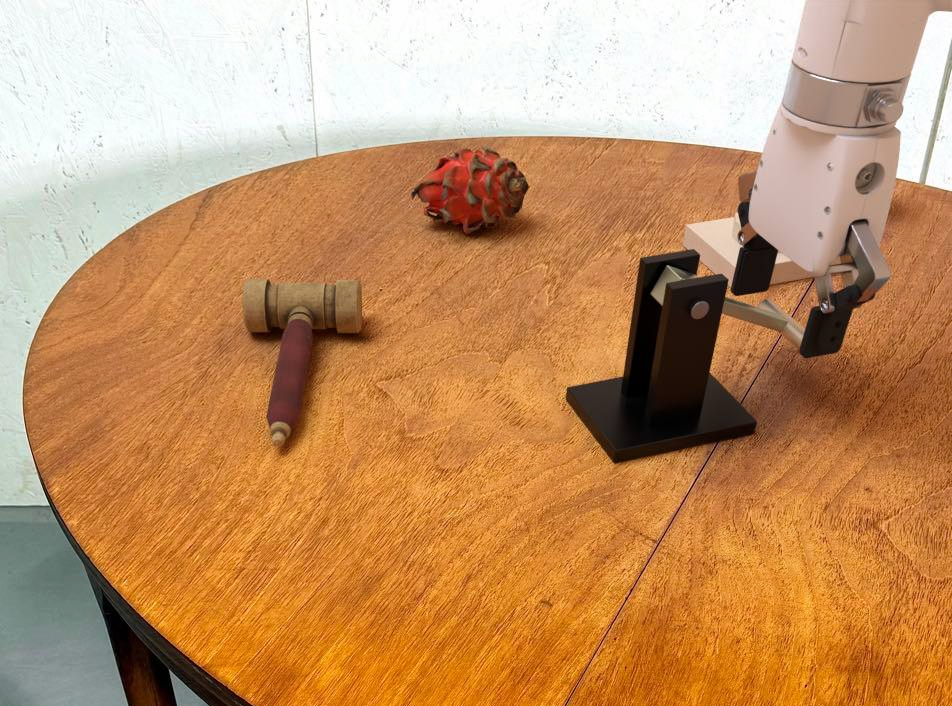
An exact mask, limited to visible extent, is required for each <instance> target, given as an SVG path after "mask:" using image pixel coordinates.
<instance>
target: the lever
mask: <svg viewBox="0 0 952 706" xmlns="http://www.w3.org/2000/svg"><path fill="white" fill-rule="evenodd" d="M698 277H699V276H696V275H695V274H692V273H689V272H686V271H683V270H680V269H677V268H674V267H671V266H668V265H667V266H666V268H665V269H664V271H663V273H662V274H661V276H660V278H659V280H658V281H657V283H656V285H655V287H654V288H653V290H652V292H651V295H652V296H653V297H654V298H655V299H656V300H657V301H658V302H659V303H660V304H661V305H662V306H663V300H664V294H665V288H666V283H669V282H675V281H681V280H686V279H692V278H698ZM722 315H725V316H728V317H731V318H734V319H737V320H741V321H744V322H746V323H749V324H753V325H756V326H758V327H759V326H760V327H762V328H766V329H768V330H772V331H775V332H777V333H779V335H781V336H782V337H783V338H784V339H785V340H786V341H788V342H789V343H790V344H791V345H792V346H793V347H795V348H796V349H797V350H798V351H799V349H800V346H801V342H802V339H803V335H804V331H805V328H806V327H804V326H803V325H802V324H800V323H799V322H798V321H797V320H795V318H793V317H792V316H791V314H788V312H786V311H785V310H784V309H783V308H782V307H781V306H779V304H777V303H776V302H775V301H774V300H772V299H771V298H765V299H763V300H762V301H760V302H759V303H758V305H757V306H755V305H752V304H748V303H746V302H743V301H740V300H737V299H734V298H730V297H727V296H725V300H724V305H723V310H722Z"/></svg>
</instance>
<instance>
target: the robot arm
mask: <svg viewBox="0 0 952 706" xmlns="http://www.w3.org/2000/svg"><path fill="white" fill-rule="evenodd" d="M936 12H948V13H952V0H805V1H804V5H803V10H802V14H801V18H800V23H799V27H798V31H797V36H796V39H795V44H794V49H793V52H792V57H791V61H790V64H789V69H788V73H787V78H786V82H785V86H784V91H783V95H782V99H781V101H780V104H779V106H778V109H777V111H776V113H775V115H774V117H773V121H772V123H771V126H770V129H769V132H768V135H767V138H766V140H765V144H764V147H763V150H762V152H761V156H760V160H759V163H758V167H757V170H756V171H750V172H746V173H741V174H739V176H738V199H739V201H740V203H739V204H738V206H737V210H736V213H737V212H738V216H739V220H740V224H741V230H740V231H739V232H738V236H737V237H738V242H739V244H740V245H742V246H743V245H744V246H743V247H740V250H739V254H738V259H737V263H736V268H735V272H734V276H733V281H732V285H731V288H730V289H729V290H730V293H731V294H732V295H733V296H734V297H741V296H747V295H752V294H753V295H754V294H760V293H765V292H767V291H768V290H769V289H770V286H771V285H770V282H771V278H772V274H773V270H774V266H775V262H776V258H777V254H778V250H779V251H780V252H781V253H783V254H784V255H785V256H786V257H788V258H789V259H790V260H792V261H793V262H794V263H795V264H797V265H798V266H799V267H801V268H802V269H803V270H805V271H806V272H808V273H809V274H811V275H813V276H814V277H813V278H814V285H815V290H816V296H817V302H818V305H817V306H816V305H815V306H811V309H810V311H809V314H808V318H807V321H806V324H805V327H804V328H805V331H804V335H803V339H802V342H801V346H800V349H799V350H798V353H799V355H800V356H801V357H802V358H803V359H810V358H816V357H817V358H818V357H822V356H828V355H833V354H834V355H835V354H837V353H838V352H839V351H840V350H841V348H842V345H843V342H844V339H845V336H846V333H847V329H848V326H849V324H850V320H851V317H852V314H853V311H854V310H855V309H860V308H861V307H862V306H863V305H864V304H866V303H868V302H871V301H872V300H873V299H874V298H875V297H876V293H878V292H879V291H880V290H881V288H882V287H884V285H885V284H886V283H887V282H889V280H890V278H891V275H892V274H891V273H892V272H891V268H890V267H889V265H888V262H887V260H886V259H885V257H884V255H883V252H882V251H881V248H880V246H881V243H882V240H883V235H884V232H885V228H886V224H887V221H888V218H889V217H888V216H889V212H890V208H891V205H892V201H893V194H894V189H895V186H896V181H897V180H896V179H897V175H898V167H899V160H900V153H901V152H900V151H901V137H902V136H901V135H902V132H901V130H900V129H899V128H897V127H896V125H897V122H898V121H899V120H900V119H901V117H902V116H903V113H904V105H903V102H904V99H905V95H906V92H907V89H908V86H909V83H910V79H911V77H912V71H913V69H914V65H915V62H916V59H917V57H918V56H917V55H918V52H919V49H920V45H921V43H922V39H923V36H924V33H925V30H926V26H927V23H928V20H929V16H930V15H932V14H934V13H936ZM838 256H839V257H840V260H841V264H836V265H829V264H830V262H834V261H835V259H836V258H837V257H838ZM833 276H834V277H835V276H840V277H841V282H842V286H843V288H841V289H839V290H838V291H836V292H835V289H834V282H833Z"/></svg>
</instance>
